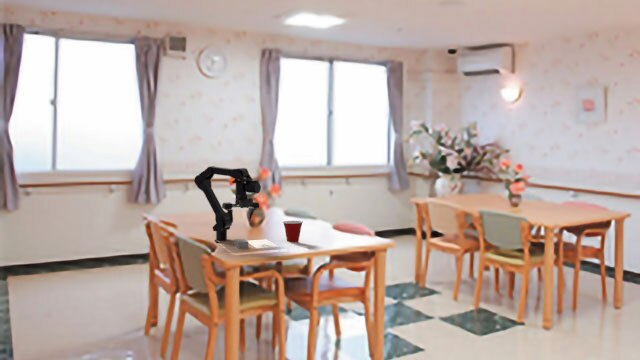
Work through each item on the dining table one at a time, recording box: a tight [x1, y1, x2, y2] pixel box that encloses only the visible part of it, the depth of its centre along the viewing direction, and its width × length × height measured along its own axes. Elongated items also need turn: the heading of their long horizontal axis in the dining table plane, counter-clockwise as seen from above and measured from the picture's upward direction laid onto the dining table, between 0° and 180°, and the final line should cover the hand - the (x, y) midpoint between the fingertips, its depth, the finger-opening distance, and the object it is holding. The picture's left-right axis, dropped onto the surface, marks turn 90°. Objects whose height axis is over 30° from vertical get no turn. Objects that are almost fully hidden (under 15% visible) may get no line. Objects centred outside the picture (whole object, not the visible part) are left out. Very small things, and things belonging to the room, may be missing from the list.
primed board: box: [247, 239, 280, 249], centre depth 306 cm, size 20×12×1 cm, turn 24°
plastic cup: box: [282, 220, 304, 243], centre depth 314 cm, size 11×11×12 cm
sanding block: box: [233, 238, 249, 249], centre depth 298 cm, size 8×5×4 cm, turn 24°
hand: (240, 221), depth 308 cm, fingers open, 9 cm apart
